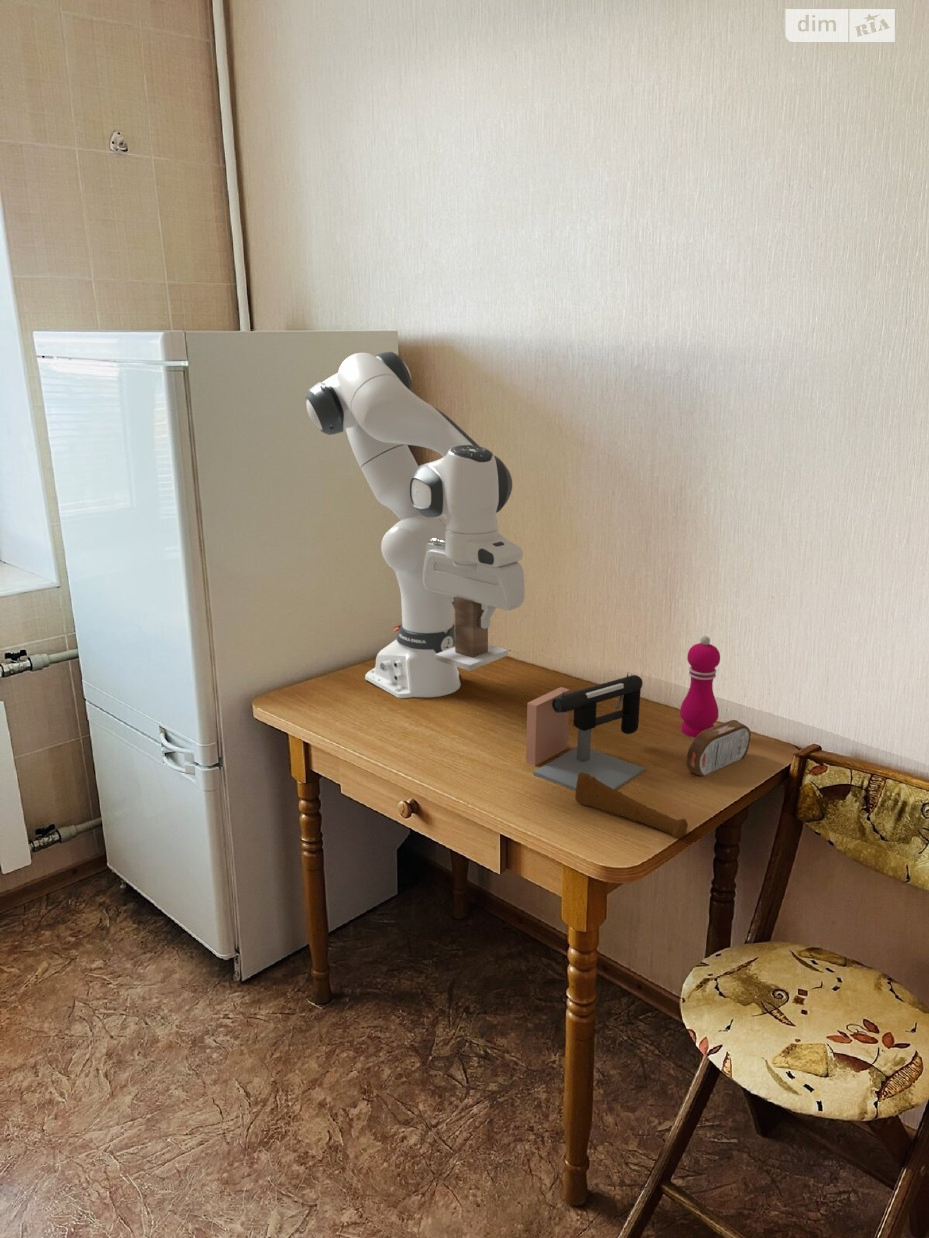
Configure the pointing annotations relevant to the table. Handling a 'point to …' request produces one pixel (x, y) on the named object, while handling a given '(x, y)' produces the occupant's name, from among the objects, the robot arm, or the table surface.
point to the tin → (718, 747)
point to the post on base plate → (470, 639)
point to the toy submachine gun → (587, 704)
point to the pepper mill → (700, 689)
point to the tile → (546, 728)
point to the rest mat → (588, 769)
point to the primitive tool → (624, 806)
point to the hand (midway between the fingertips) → (471, 623)
